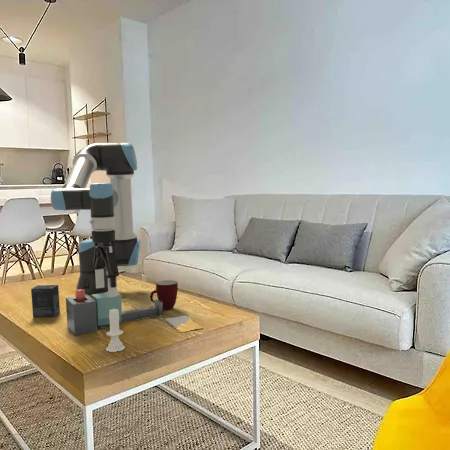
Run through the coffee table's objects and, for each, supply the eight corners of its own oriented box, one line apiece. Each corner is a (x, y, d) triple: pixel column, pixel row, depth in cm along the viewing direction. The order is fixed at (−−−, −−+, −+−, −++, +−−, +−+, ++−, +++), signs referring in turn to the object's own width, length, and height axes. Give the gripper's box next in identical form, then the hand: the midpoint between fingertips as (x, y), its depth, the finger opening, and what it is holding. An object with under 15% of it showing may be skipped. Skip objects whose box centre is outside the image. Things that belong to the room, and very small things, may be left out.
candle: (102, 351, 124) (100, 310, 123) (110, 344, 129) (108, 305, 128) (120, 352, 123) (118, 311, 122) (127, 345, 128) (126, 305, 127)
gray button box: (67, 327, 146) (65, 297, 145) (88, 323, 150) (87, 294, 149) (74, 335, 138) (73, 304, 137) (97, 331, 141) (95, 301, 140)
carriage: (93, 321, 149) (91, 294, 148) (116, 317, 153) (115, 291, 152) (98, 326, 144) (97, 298, 143) (122, 322, 148) (120, 294, 147)
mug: (155, 314, 159) (154, 287, 158) (147, 308, 166) (146, 282, 165) (181, 309, 164) (181, 283, 163) (173, 304, 171) (172, 279, 170)
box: (60, 312, 163) (58, 284, 162) (54, 317, 157) (52, 288, 156) (39, 312, 163) (37, 284, 162) (32, 317, 158) (30, 288, 157)
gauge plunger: (75, 300, 143) (74, 290, 143) (83, 299, 145) (83, 288, 144) (77, 302, 141) (76, 291, 140) (86, 301, 142) (85, 290, 142)
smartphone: (180, 332, 138) (163, 318, 151) (180, 335, 138) (163, 321, 152) (204, 327, 142) (185, 314, 155) (204, 330, 142) (185, 317, 155)
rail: (90, 324, 148) (89, 310, 148) (157, 312, 161) (156, 298, 161) (95, 329, 143) (94, 314, 143) (164, 316, 156) (163, 302, 156)
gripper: (81, 226, 153) (85, 285, 156) (103, 234, 133) (107, 302, 135) (103, 225, 157) (105, 282, 160) (127, 232, 137) (130, 298, 139)
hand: (106, 292), depth 148 cm, fingers open, 13 cm apart
